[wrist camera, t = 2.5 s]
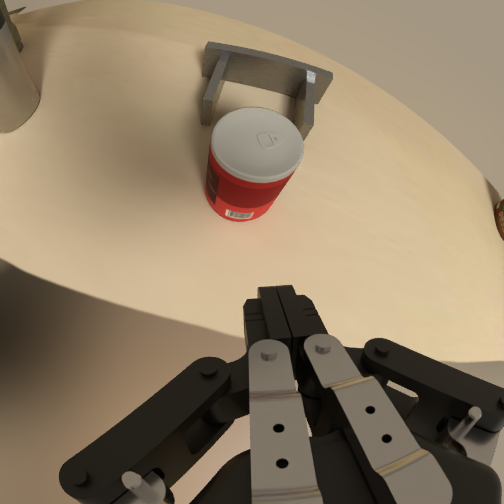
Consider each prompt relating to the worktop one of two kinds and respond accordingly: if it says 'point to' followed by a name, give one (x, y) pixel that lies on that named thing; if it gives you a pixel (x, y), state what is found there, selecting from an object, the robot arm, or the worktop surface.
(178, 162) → the worktop surface
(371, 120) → the worktop surface
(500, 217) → the food container
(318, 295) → the worktop surface
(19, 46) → the green handled vase
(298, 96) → the keeper bracket
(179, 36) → the worktop surface
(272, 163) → the canned food
